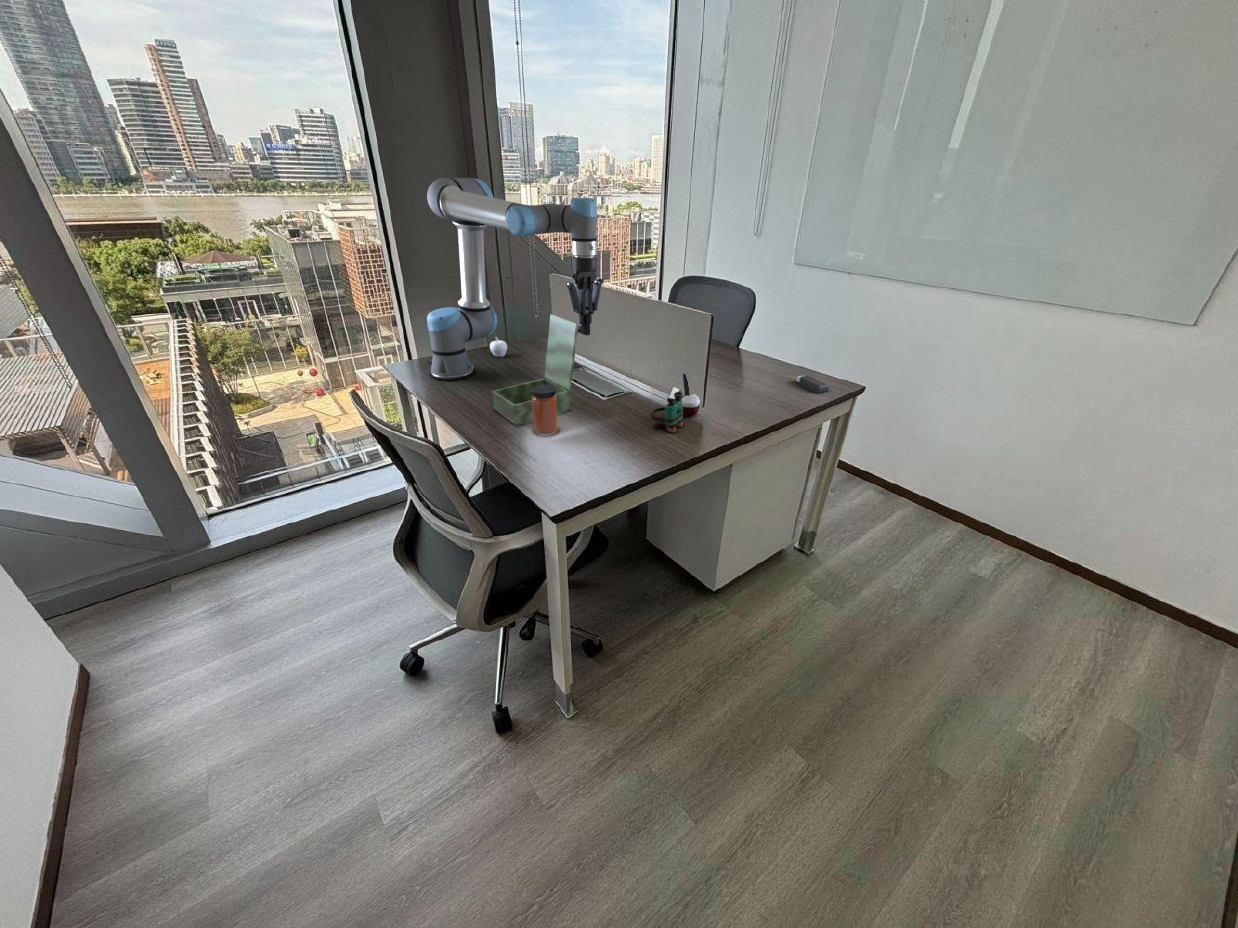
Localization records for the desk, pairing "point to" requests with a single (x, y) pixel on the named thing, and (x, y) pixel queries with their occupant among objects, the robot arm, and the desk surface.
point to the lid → (561, 350)
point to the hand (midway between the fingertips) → (585, 334)
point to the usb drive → (812, 384)
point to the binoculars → (670, 414)
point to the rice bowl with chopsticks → (689, 401)
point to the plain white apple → (498, 348)
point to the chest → (526, 400)
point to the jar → (544, 409)
